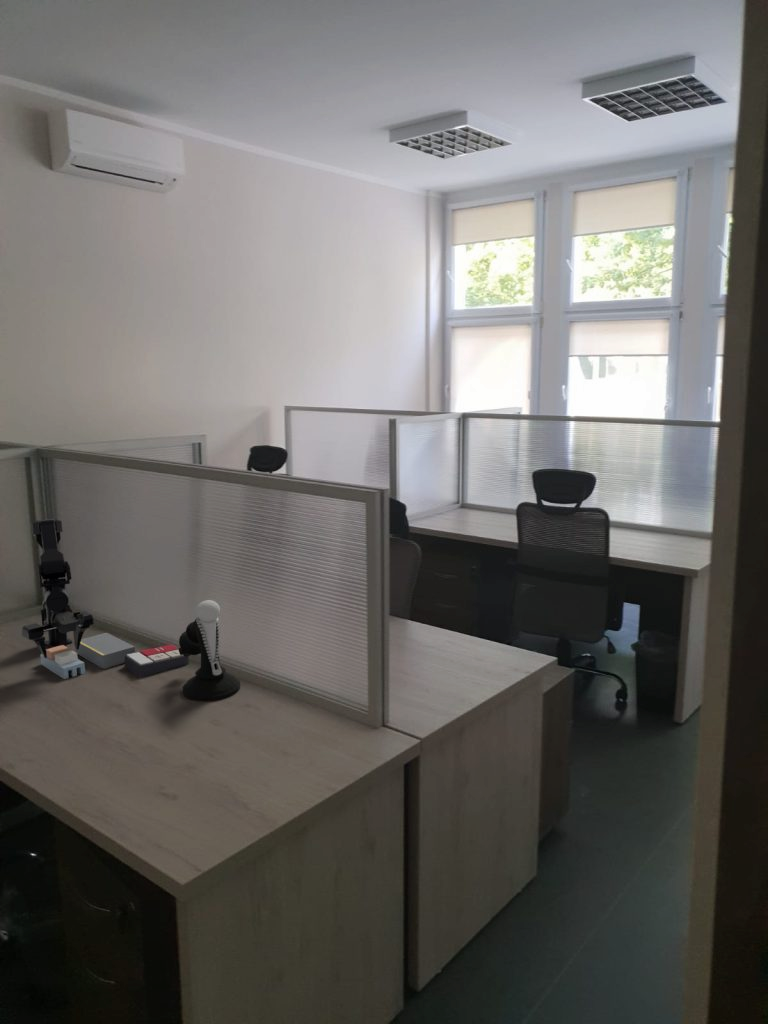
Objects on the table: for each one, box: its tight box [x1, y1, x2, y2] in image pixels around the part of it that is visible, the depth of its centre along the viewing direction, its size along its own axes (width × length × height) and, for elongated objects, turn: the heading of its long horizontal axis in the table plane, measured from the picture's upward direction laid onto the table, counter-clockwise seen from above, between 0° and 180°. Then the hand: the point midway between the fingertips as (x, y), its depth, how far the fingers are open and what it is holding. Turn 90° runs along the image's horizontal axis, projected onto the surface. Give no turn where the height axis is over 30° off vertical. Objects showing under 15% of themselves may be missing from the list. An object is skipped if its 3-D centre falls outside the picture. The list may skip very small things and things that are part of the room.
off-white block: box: [55, 649, 79, 665], centre depth 223 cm, size 4×5×2 cm
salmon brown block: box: [46, 645, 69, 660], centre depth 227 cm, size 4×5×2 cm
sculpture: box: [178, 599, 241, 702], centre depth 211 cm, size 15×24×25 cm, turn 38°
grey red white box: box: [124, 644, 190, 678], centre depth 228 cm, size 11×4×15 cm
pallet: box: [39, 653, 86, 680], centre depth 226 cm, size 16×6×4 cm, turn 45°
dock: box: [75, 632, 136, 670], centre depth 235 cm, size 18×10×4 cm, turn 45°
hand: (61, 653), depth 226 cm, fingers open, 9 cm apart
